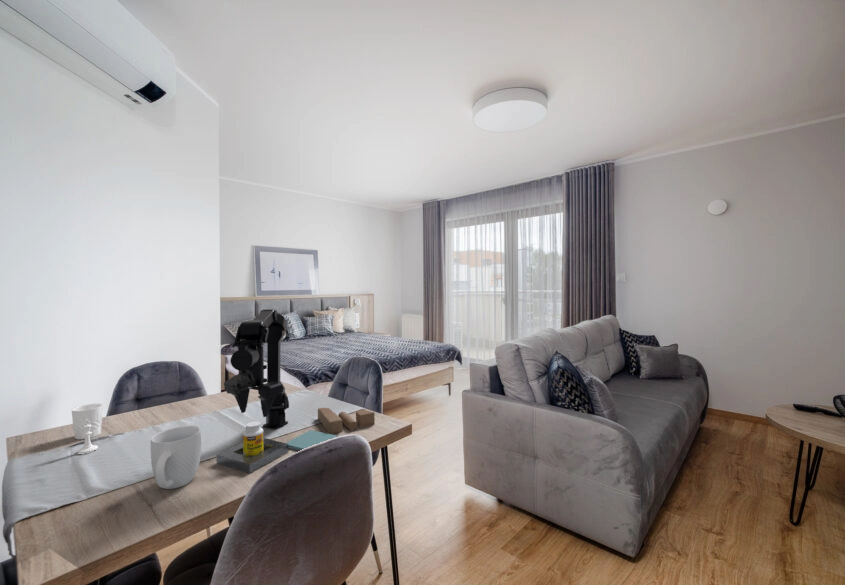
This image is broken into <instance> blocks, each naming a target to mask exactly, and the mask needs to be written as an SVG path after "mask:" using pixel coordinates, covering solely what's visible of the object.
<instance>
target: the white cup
mask: <svg viewBox="0 0 845 585" xmlns="http://www.w3.org/2000/svg"><path fill="white" fill-rule="evenodd" d="M71 417H72V418H71V419H72V428H73V432H74V440H85V435H83V433H85V431H84V429H83V426H85V425H86V424H83V422H86V420H87V419H88V421H91V422H90V423H88V424H89V425H91V428H90V432H92V433H91V434H89V436H90V439H91V438H95V437H96V436H99V435H101V433H102V424H103V404H102V403H89V404H83V405H80V406H76V407H74V408H72V409H71Z"/></svg>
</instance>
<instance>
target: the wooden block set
mask: <svg viewBox="0 0 845 585" xmlns="http://www.w3.org/2000/svg"><path fill="white" fill-rule="evenodd" d="M346 412H347V411H341V412H339V413H338V414H337V413H336V412H334V411H333V410H332V409H330V408H329V407H320V408H318V409H317V419H318V420H319V421H320V423H321V424H322V427H323V428H324V429H325V431H327V434H332V435H335V434H337V433H338V434H339V433H341V432H343V424H344V425H345V426H346V427H347V429H348V430H349V431H355V430H356V428H358V426H359V428H363V427H368V426H372V425H375V412H374V411H370V410H366V409H363V408H361V409H358V410H356V411H355V419H353V418H352V417H351V416H350V415H349V414H348V413H346Z"/></svg>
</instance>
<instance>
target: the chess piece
mask: <svg viewBox="0 0 845 585" xmlns="http://www.w3.org/2000/svg"><path fill="white" fill-rule="evenodd" d="M90 422H91V421H88V419H87V420H86V422H83V424H86V425H85V426H83V429H84V431H85V433H83V435H85V439H84V442H83V443H84V444H83V446H82V447H81V448H79V449H78V450H76V453H77V452H78V453H86V452H90V451H94V450H96V449H97V448H98V449H99V446H98V445H96V444H95V445H93V444H92V441H91V438H90V436H89V434H91V433H92V432H90V428H91V425H89V424H88V423H90ZM96 451H97V450H96ZM94 452H95V451H94Z"/></svg>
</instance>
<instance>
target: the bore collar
mask: <svg viewBox="0 0 845 585" xmlns="http://www.w3.org/2000/svg"><path fill="white" fill-rule="evenodd" d="M263 449H264V451H263V452H261V453H259V454H257V455H255V456H253V457H252V458H251V457H248V456H244V455H243V442H242V443H241V442H240V443H239V444H236V445H235V446H232V447H230V448H227V449H226V450H224V451H222V452H219V453H217V454H216V464H219V465H222V466H225V467H229V468H232V469H235V470H237V471H241V472H244V473H248V474H251V473H253V472H255V471H257V470H258V469H260V468H262V467H264V466H266V465H267V464H270V463H271V462H273V461H275V460H276V459H279V458H280V457H282V456H284V455H285V454H288V453H289V449H290V448H289V445H288V444H287V443H286V442H282V441H279V440H274V439H270V438H265V437H263Z"/></svg>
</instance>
